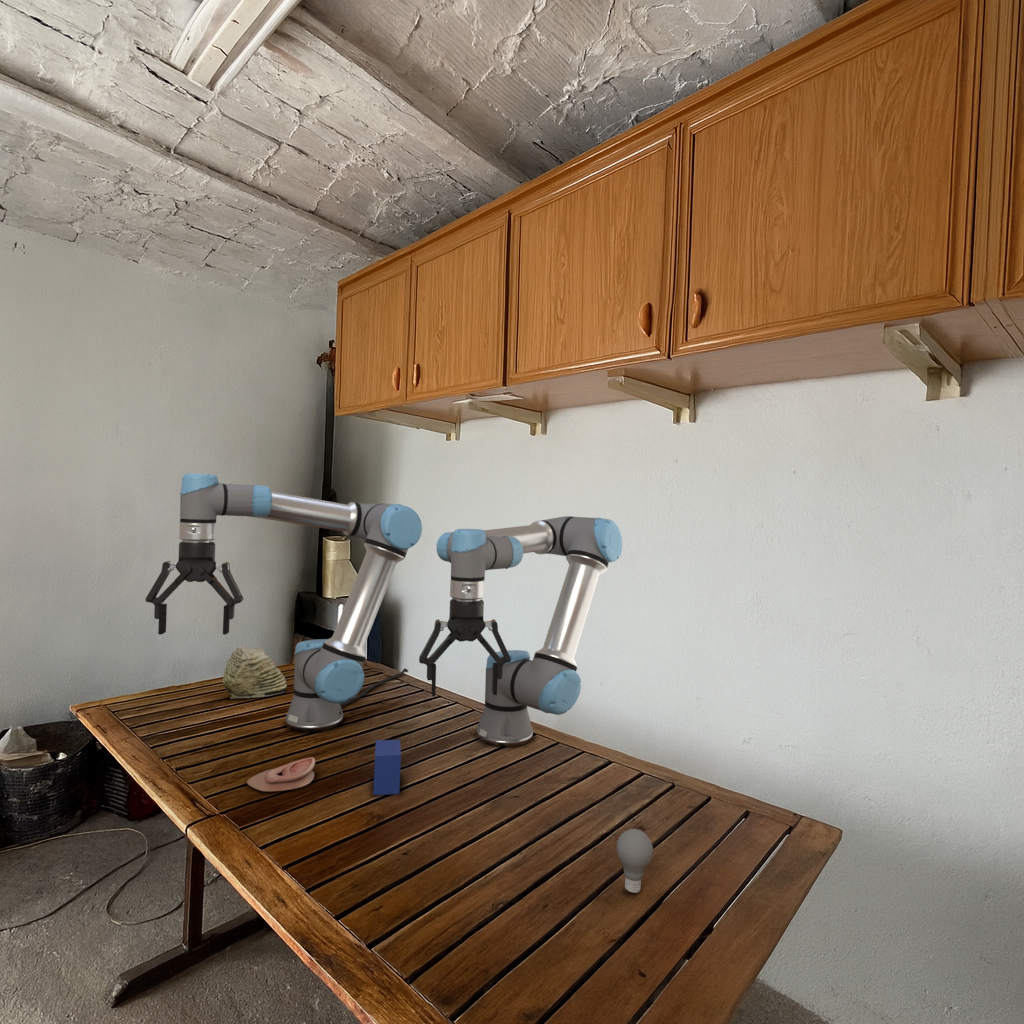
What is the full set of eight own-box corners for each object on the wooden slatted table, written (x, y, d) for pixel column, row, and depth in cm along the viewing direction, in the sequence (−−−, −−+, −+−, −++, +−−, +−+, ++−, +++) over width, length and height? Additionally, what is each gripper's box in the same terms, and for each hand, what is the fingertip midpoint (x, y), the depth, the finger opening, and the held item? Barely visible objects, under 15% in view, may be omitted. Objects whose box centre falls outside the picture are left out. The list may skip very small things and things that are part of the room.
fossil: (218, 695, 195) (220, 647, 195) (278, 685, 208) (279, 640, 207) (228, 703, 189) (230, 653, 188) (289, 692, 201) (290, 645, 201)
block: (374, 777, 144) (375, 740, 144) (398, 776, 145) (400, 739, 145) (373, 795, 135) (375, 755, 135) (399, 794, 137) (401, 754, 136)
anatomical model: (238, 769, 136) (269, 749, 147) (238, 787, 136) (269, 766, 147) (295, 777, 133) (322, 756, 144) (294, 796, 133) (321, 773, 144)
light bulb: (610, 879, 108) (613, 822, 108) (644, 879, 109) (647, 822, 109) (619, 902, 102) (622, 840, 102) (655, 901, 103) (658, 840, 103)
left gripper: (131, 540, 139) (128, 636, 139) (251, 543, 144) (248, 636, 144) (144, 538, 146) (141, 629, 147) (258, 541, 151) (255, 629, 152)
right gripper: (409, 601, 134) (407, 700, 135) (525, 602, 138) (522, 698, 139) (409, 595, 142) (407, 689, 142) (519, 596, 146) (516, 687, 146)
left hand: (194, 633), depth 146 cm, fingers open, 13 cm apart
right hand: (464, 694), depth 141 cm, fingers open, 13 cm apart
